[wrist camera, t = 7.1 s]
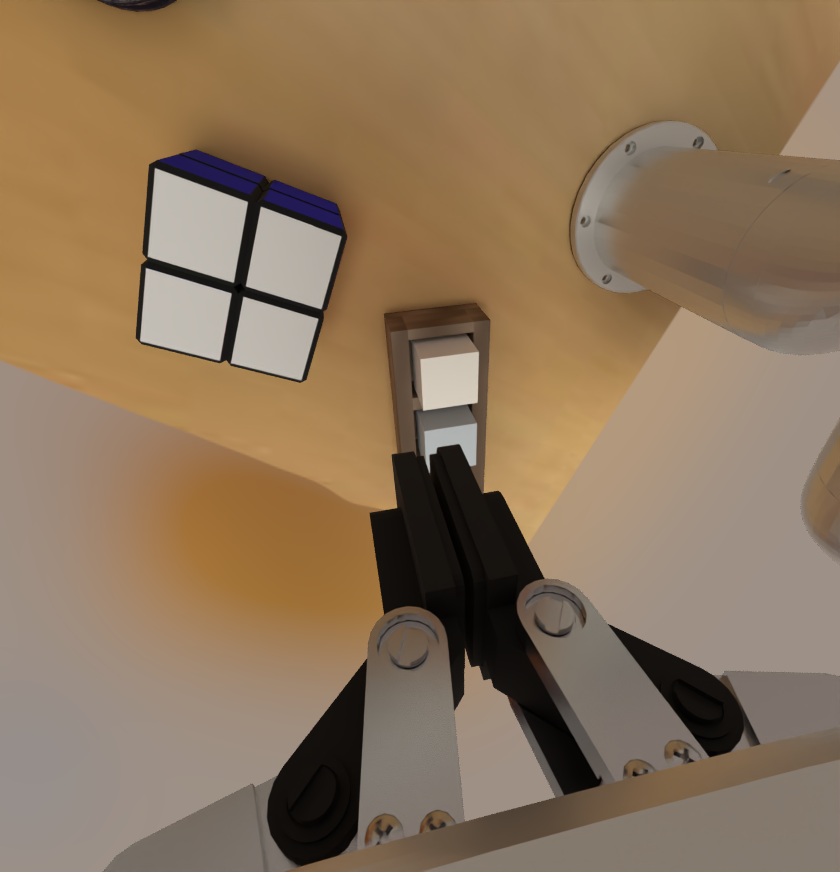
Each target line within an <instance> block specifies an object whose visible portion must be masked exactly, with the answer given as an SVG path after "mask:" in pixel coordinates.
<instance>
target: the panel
mask: <svg viewBox="0 0 840 872" xmlns="http://www.w3.org/2000/svg"><path fill="white" fill-rule="evenodd" d="M384 318H385V328H386V338H387V349H388V359H389V369H390V379H391V389H392V400H393V410H394V420H395V430H396V440H397V451H398V453H404V452H410V451H414V452H415V455H416V457H417V456H421V454H420V451H419V448H418V435H417V420H416V410H419V409H422V406H421V403H420V401H419V398H418V395H417V393H416V390H415V387H414V374H413V358H412V343H411V340H414V339H422V338H430V337H438V336H446V335H454V334H462V333H466V334H467V336H468V337H469V338H470V340H471V341H472V343H473V344H474V345H475V347H476V348H477V350H478V351H479V368H478V403H473V404H467V405H468V407H469V409H470V411H471V413H472V415H473V417H474V419H475V420H476V422H477V445H476V465H474V466H470V468H471V470H472V472H473V474H474V477H475V479H476V481H477V483H478V485H479V488H480V490H481V492H482V494H483V491H484V466H485V441H486V416H487V391H488V366H489V341H490V319H489V318H488V317H487V316H486V314H485V313H484V312H483V311H482V310H481V309H480V307H479V306H478V305H477V304H476V303H475V304H466V305H458V306H449V307H441V308H432V309H423V310H415V311H406V312H398V313H389V314H384Z"/></svg>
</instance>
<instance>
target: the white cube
mask: <svg viewBox="0 0 840 872" xmlns="http://www.w3.org/2000/svg"><path fill="white" fill-rule="evenodd" d="M411 343H412V358H413V374H414V387H415V390H416V393H417V395H418V398H419V401H420V403H421V406H422V409H423V411H424V410H431V409H438V408H445V407H452V406H459V405H466V404H473V403H478V368H479V351H478V350H477V348H476V347H475V345H474V344H473V343H472V341H471V340H470V338H469V337H468V336H467V334H466V333H462V334H454V335H446V336H438V337H430V338H422V339H414V340H411Z"/></svg>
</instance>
